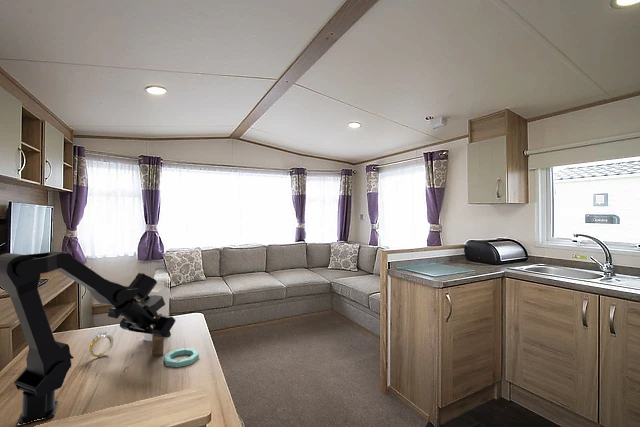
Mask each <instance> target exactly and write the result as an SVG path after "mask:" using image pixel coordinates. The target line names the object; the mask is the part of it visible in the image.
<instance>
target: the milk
mask: <svg viewBox="0 0 640 427" xmlns="http://www.w3.org/2000/svg"><path fill="white" fill-rule="evenodd" d="M156 281H157V284H156V285H155V287H154V288H153V289H152V291H151V292H150V293H149V295H148V296H149V297H150V295H159V296H162V297H163V299H164V302H165V305H164V306H162V307H161V308H160V309H159V310H158V311H156V312H157V313H162V316H164V315H166V316H170V291H171V290H170V288H169V287H167V286H165V282H164V281H158V280H156ZM154 318H155V317H154ZM151 327H152V329H153V326H151ZM164 339H167V337H164ZM143 341H147V342H152V334H147V333H143Z"/></svg>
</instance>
